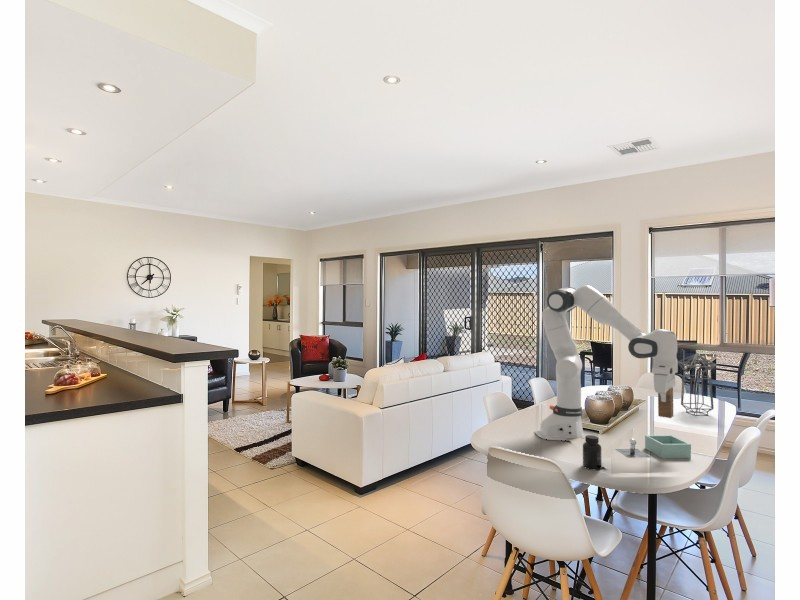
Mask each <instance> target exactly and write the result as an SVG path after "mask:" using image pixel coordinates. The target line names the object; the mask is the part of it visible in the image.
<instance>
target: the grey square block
mask: <svg viewBox="0 0 800 600" xmlns="http://www.w3.org/2000/svg"><path fill="white" fill-rule="evenodd" d="M628 442H629V445H630V446H629V447H630V448H615V451H616V452H619V453H620V454H622V455H623V456H625V457H626V458H633V459H634V458H651V456H650V455H648V454H647V453H645V452H644V451H642V450H640V449H638V448H636V445H637V440H636V439H635V438H630V439H629V441H628Z"/></svg>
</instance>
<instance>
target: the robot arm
mask: <svg viewBox="0 0 800 600" xmlns="http://www.w3.org/2000/svg"><path fill="white" fill-rule="evenodd" d="M546 304H547V307H546V308H544V309H543V310H542V312H541V316H542V323H543V328H544V331H545V335H546V338H547V341H548V343H549V347H550V349H551V350H552V352H553V355H554V357H555V360H556V364H555V378H556V379H555V381H556V404H555V406H554V405H549V406H548V407H549V409H550V410H552V413H550V414H549V415H548V416H546V417H545V418H543V419H542V420H541V422H540V426H539V428H538V429H535V431H534V432H535V434H536V436H538V437H539V438H541V439H543V440H546V439H547V441H561V440H562V441H563V442H565V440H566V442H570V440H569V439H585V434H584V429H583V422H582V418H583V408H582V383H581V379H582V378H581V374H582V373H581V372H582V369H583V362H582V361H583V360H582V359H581V357H580V354H579V352H578V349H577V346H576V343H575V342H574V341H575V340H574V339H573V336H572V333H571V330H570V326H569V324H568V321H567V316H566V315H567V313H569V312H571V311H572V310H574V309H576V308H577V307H578V308H580V310H582V311H583V312H584V313H585V314H587V315H588V317H590V318H591V319H592V320H594V321H595V322H597V323H598V324H602V325H606V326H608V327H611V328H614V329H615V330H617V331H618V332H619V333H620V334H621V335H623V336H624V337H625V338H626V339H627V340H629V343H628V346H627V349H628V351H629V353H630V354H631V356H632V357H634V358H637V359H640V360H643V359H647V358H652V359H653V360H652V361H653V363H652V364H653V365H652V368H651V374H653V387H654V388H653V389H654V391H655V393H657V394H658V393H660V396H661V401H662V402H666V401H667V397H666V392H667V391H669V389H670V388H672V387H673V388H675V387H676V374H677V373H678V369H679V368H678V367H679V364H678V361H679V360H678V358H677V354H678V351H679V350H678V349H679V348H678V340H677V339H678V338H677V335H676V333H675V332H674V331H672V330H669V329H664V328H663V329H662V328H656V329H654V330H653V331H651V332H648V333H646V332H643V331H641V330H640V329H639V328H637V327H636V326H635V325H634V324H633V323H632V322H630V321H629V320H628V319H627V318H626V317H624V315H622V313H621V311H619V310H618V309H617V308H616V305H614V303H612V302H611V301H610V300H609V299H608V298H607V297H606V296H605V295H604V294H603V293H601V292H600V291H599V290H597V289H596V288H594V287H593V286H591V285H588V284H585V285H581V286H579V287H578V288H575V287H572V286H571V287H560V288H559V289H555V290H552V291H551V292H550V293H549V294H548V296H547V298H546ZM562 441H561V442H562Z"/></svg>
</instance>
